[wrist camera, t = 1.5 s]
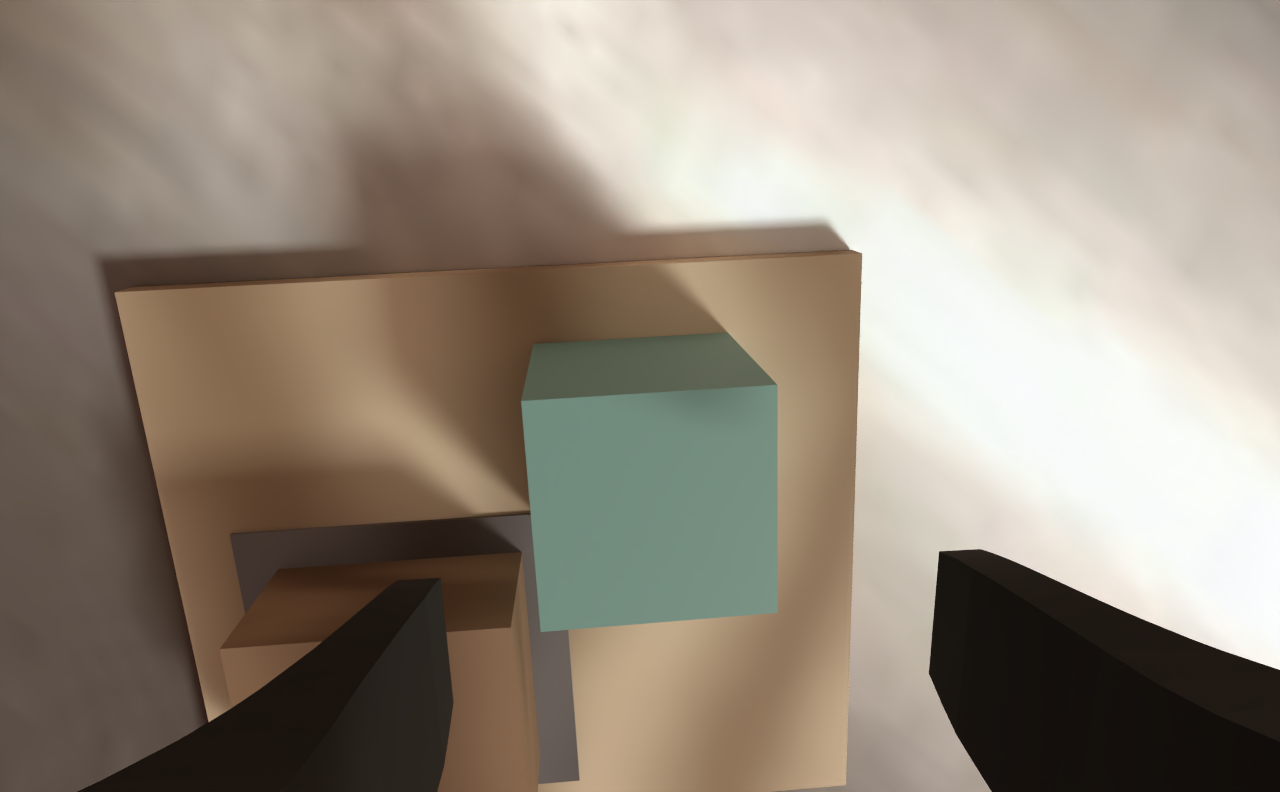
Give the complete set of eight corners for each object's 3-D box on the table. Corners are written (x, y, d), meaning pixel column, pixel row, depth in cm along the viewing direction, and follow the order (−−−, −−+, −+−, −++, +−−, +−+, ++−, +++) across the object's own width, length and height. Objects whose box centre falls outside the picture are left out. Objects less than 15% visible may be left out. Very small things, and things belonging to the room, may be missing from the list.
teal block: (547, 524, 21) (540, 632, 16) (533, 343, 20) (521, 401, 15) (730, 511, 21) (777, 612, 16) (727, 332, 20) (776, 384, 15)
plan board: (245, 815, 24) (232, 840, 23) (132, 286, 19) (111, 292, 19) (837, 765, 24) (846, 787, 24) (851, 250, 20) (863, 254, 19)
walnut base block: (315, 771, 22) (267, 880, 19) (278, 569, 21) (219, 649, 17) (540, 753, 23) (533, 856, 19) (522, 552, 21) (510, 627, 18)
